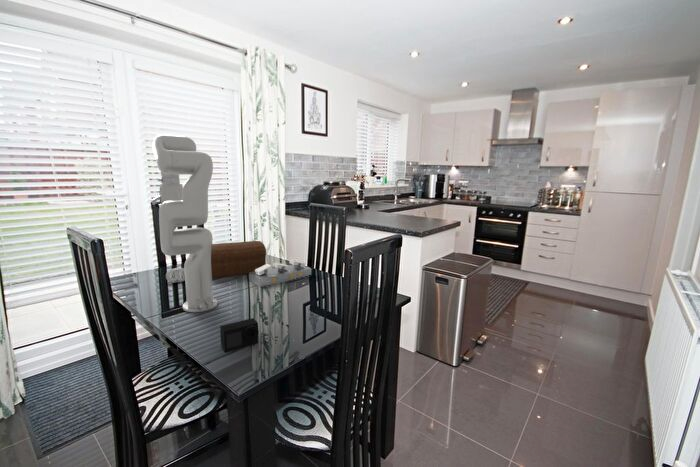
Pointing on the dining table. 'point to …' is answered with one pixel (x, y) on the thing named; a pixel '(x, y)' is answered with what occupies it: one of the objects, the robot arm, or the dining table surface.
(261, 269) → the rocker near
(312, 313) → the dining table surface
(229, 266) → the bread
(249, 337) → the digital camera
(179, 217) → the robot arm
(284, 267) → the rocker mid
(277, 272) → the console
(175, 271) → the pendant light
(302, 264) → the rocker far
